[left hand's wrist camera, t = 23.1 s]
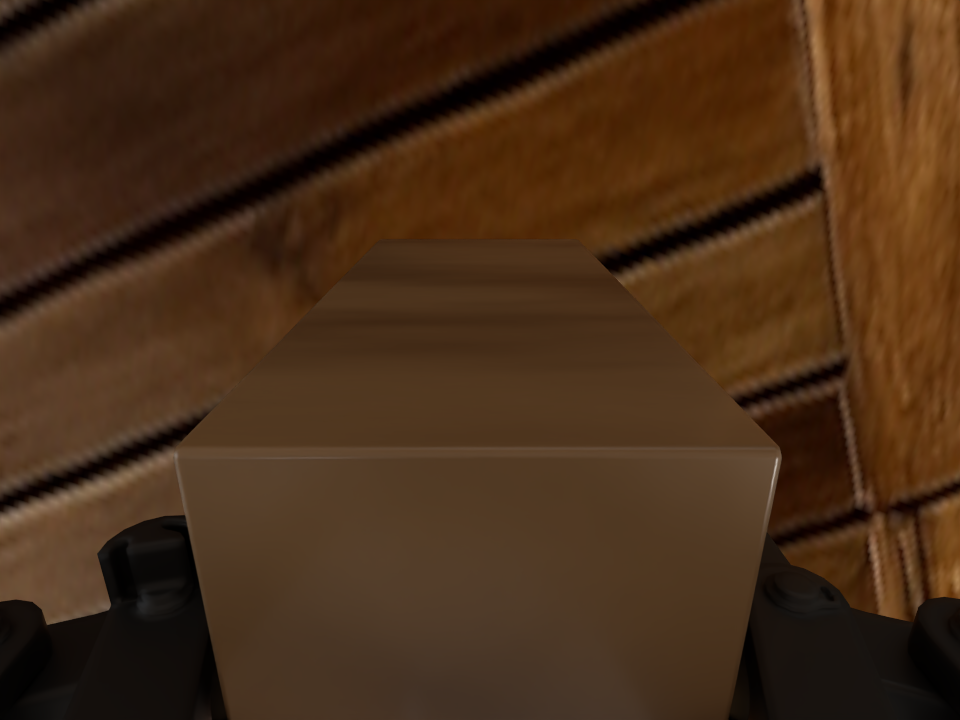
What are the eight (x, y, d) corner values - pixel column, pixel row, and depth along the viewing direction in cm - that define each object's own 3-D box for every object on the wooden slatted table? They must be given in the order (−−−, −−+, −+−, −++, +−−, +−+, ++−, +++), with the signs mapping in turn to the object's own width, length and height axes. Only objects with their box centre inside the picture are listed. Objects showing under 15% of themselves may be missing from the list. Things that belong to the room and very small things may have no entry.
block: (564, 499, 18) (678, 986, 8) (393, 499, 18) (278, 986, 8) (579, 238, 15) (788, 450, 5) (378, 238, 15) (166, 449, 5)
